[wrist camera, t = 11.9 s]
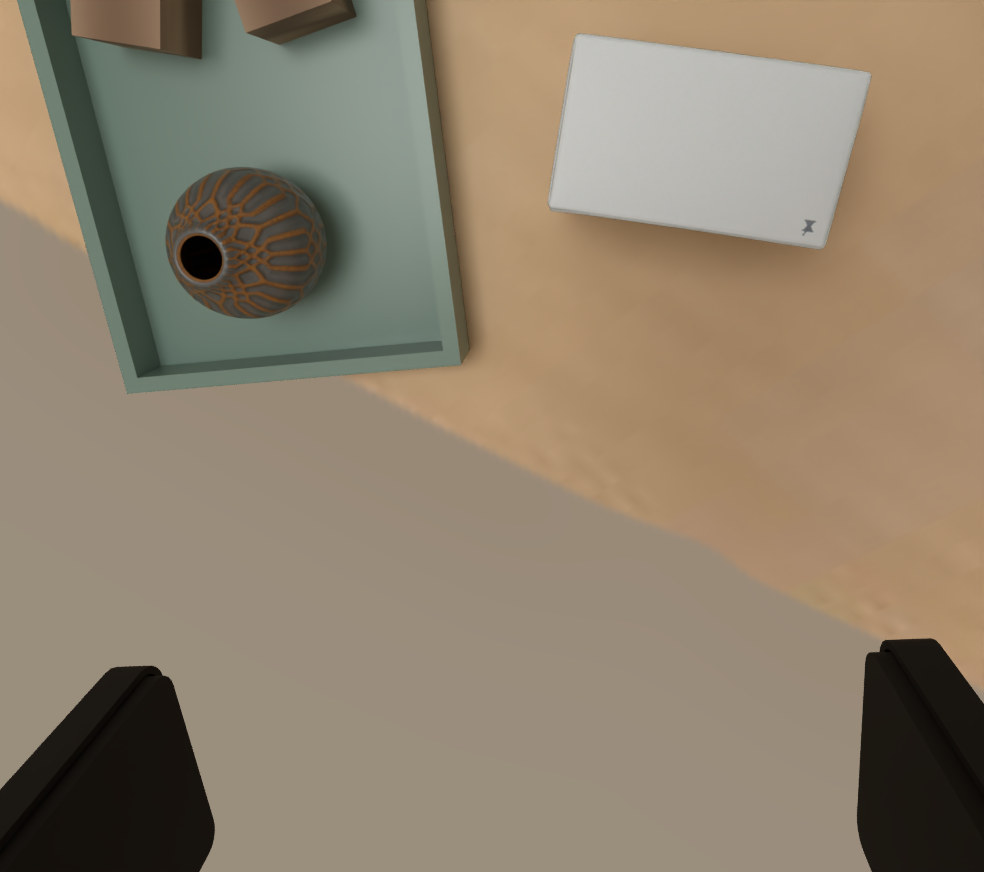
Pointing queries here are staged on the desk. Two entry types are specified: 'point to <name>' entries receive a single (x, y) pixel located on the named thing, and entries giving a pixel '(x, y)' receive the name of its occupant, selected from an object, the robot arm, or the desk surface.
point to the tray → (274, 147)
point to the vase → (246, 242)
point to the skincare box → (705, 139)
